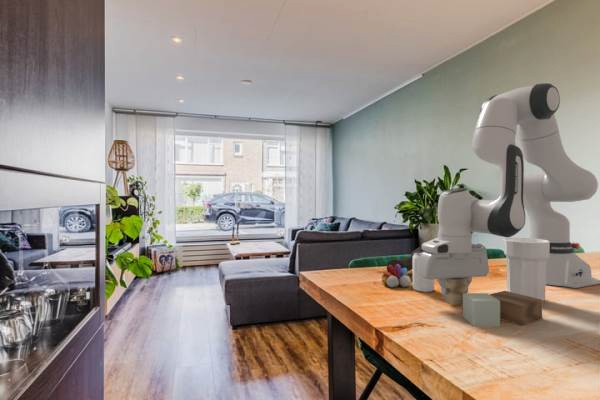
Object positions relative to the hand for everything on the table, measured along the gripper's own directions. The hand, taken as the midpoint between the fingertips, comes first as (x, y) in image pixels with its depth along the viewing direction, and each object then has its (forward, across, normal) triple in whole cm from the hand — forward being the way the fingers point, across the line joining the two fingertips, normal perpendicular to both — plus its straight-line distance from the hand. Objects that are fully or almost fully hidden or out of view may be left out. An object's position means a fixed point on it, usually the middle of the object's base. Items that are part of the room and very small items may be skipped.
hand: (454, 292), depth 95 cm
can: (+3, +2, -13) cm, 13 cm away
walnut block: (+3, -7, +13) cm, 15 cm away
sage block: (+3, +3, +14) cm, 15 cm away
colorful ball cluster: (+3, +8, -20) cm, 22 cm away
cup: (+3, -22, +2) cm, 22 cm away
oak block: (+3, 0, 0) cm, 3 cm away
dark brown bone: (+3, -8, -36) cm, 37 cm away
